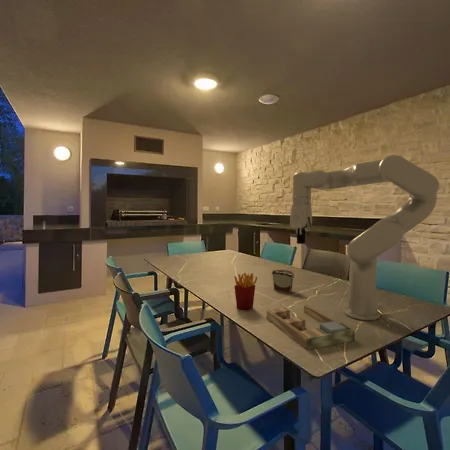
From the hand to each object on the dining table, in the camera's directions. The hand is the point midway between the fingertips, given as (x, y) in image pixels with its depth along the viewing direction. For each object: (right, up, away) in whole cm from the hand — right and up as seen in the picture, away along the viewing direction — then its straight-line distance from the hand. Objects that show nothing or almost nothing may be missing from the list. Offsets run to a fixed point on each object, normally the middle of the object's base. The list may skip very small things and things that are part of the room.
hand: (300, 243), depth 124 cm
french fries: (-24, -28, -2) cm, 37 cm away
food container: (-2, -26, +22) cm, 34 cm away
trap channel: (-4, -29, -23) cm, 37 cm away
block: (+2, -29, -31) cm, 43 cm away
